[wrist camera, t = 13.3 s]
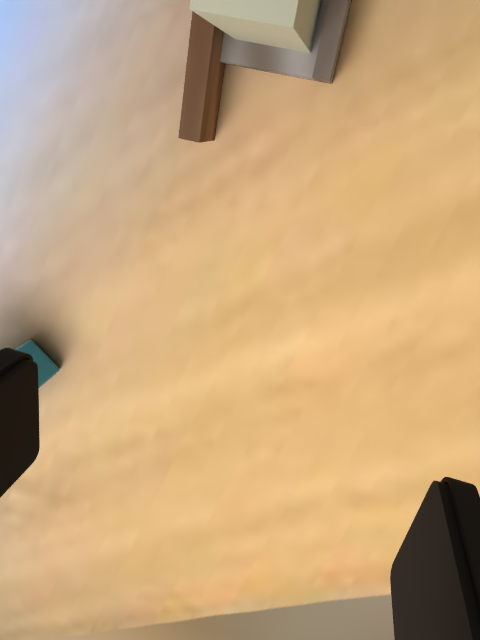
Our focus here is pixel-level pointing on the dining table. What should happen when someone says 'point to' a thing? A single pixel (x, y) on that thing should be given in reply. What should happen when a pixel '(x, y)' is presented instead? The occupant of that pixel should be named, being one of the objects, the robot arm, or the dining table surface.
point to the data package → (39, 361)
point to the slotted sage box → (264, 20)
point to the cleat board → (251, 64)
